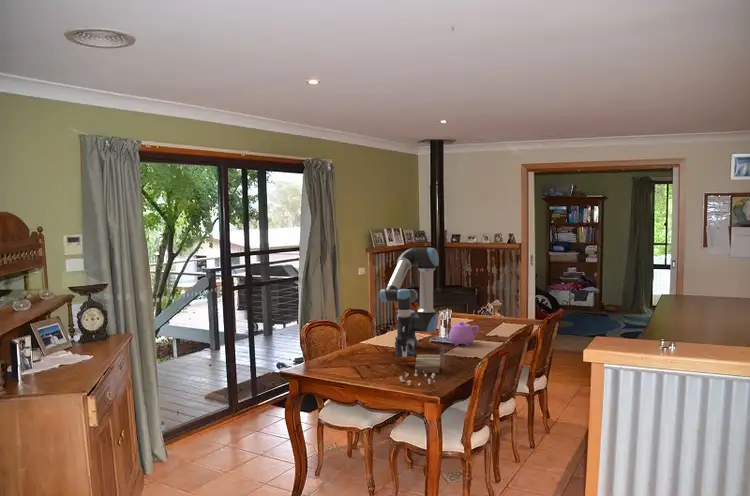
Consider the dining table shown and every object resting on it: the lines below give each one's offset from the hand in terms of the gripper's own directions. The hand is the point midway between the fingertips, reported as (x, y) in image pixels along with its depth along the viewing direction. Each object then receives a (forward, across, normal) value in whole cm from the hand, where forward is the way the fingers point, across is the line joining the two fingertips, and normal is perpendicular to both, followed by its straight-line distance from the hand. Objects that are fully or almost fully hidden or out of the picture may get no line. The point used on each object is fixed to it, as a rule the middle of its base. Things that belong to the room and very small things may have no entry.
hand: (405, 354), depth 337 cm
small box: (+1, 0, 0) cm, 1 cm away
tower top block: (+2, +13, +14) cm, 19 cm away
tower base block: (+6, +13, +14) cm, 19 cm away
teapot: (+7, -52, +33) cm, 62 cm away
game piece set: (+5, +32, +10) cm, 34 cm away
